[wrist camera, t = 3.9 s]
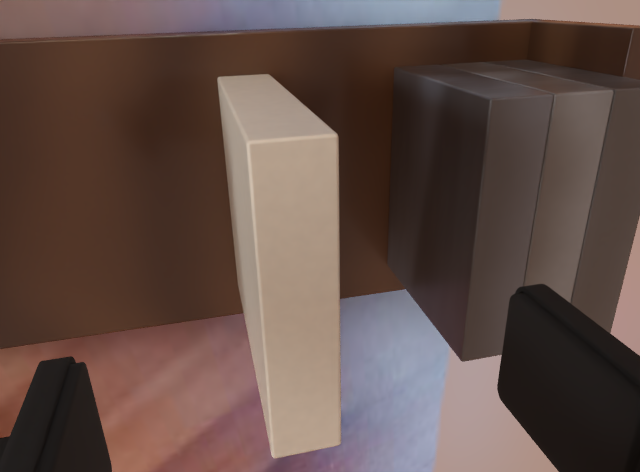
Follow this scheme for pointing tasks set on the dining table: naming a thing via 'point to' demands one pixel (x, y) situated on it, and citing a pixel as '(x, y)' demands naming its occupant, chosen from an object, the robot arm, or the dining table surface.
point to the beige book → (286, 256)
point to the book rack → (354, 170)
